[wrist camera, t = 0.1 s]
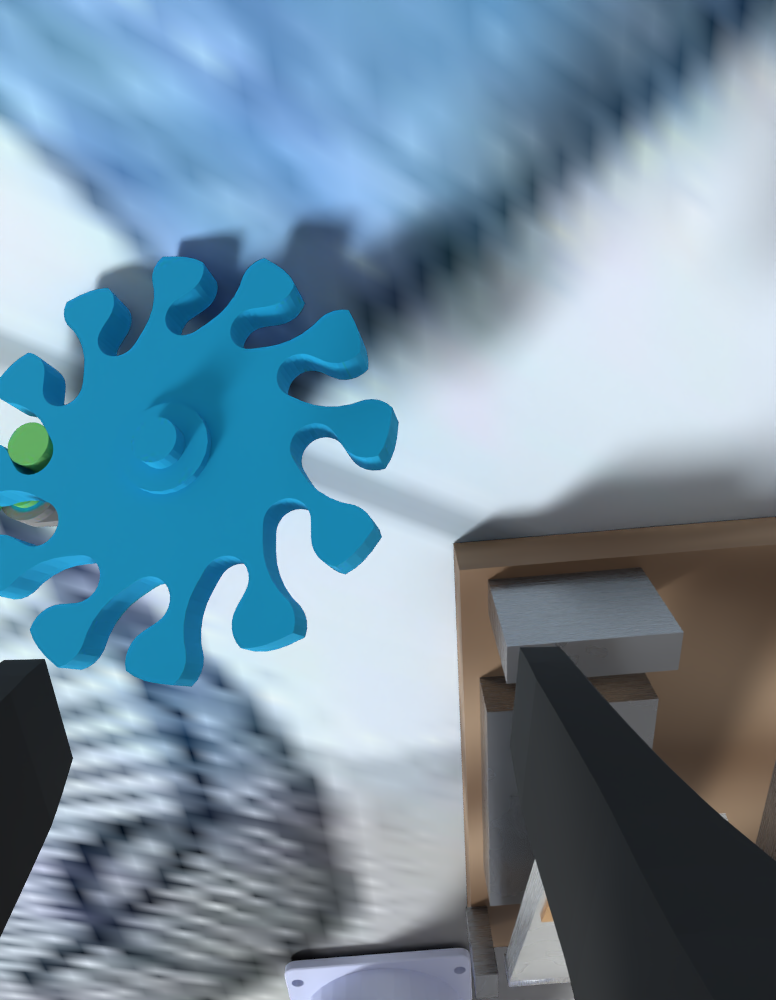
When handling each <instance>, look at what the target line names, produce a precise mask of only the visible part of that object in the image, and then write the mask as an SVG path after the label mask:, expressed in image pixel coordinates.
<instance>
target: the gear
mask: <svg viewBox="0 0 776 1000" xmlns="http://www.w3.org/2000/svg"><path fill="white" fill-rule="evenodd" d="M152 282H153V287H154V302H153V307H152V311H151V314H150V317H149V320H148V322H147V324H146V326H145V328H144V330H143V331H142V333H141V335H140V336H139V338H138V339H137V341H136V343H135V344H134V345H133V347H132V348H131V349H130V350H129V351H128V352H126V353H124V354H122V355H119V356H117V352H118V349H119V347H120V345H121V344H122V342H123V340H124V339H125V337H126V336H127V334H128V332H129V330H130V328H131V324H132V317H131V313H130V311H129V309H128V308H127V307H126V306H125V305H124V304H123V303H122V302H121V301H120V300H119V299H118V298H117V297H116V296H115V295H114V294H113V293H112V292H111V291H110V290H109V289H108V288H102V289H97V290H93V291H90V292H87V293H85V294H82V295H80V296H78V297H76V298H74V299H72V300H70V301H68V302H67V303H66V306H65V309H64V317H65V321H66V323H67V325H68V326H69V327H70V328H71V329H72V330H73V331H74V332H75V334H76V335H77V337H78V338H79V340H80V343H81V345H82V348H83V353H84V376H83V385H82V389H81V391H80V393H79V395H78V396H77V397H76V398H75V399H74V400H73V401H72V402H70V403H69V404H66V405H64V399H65V390H66V384H65V380H64V378H63V376H62V375H61V374H60V373H59V372H58V371H57V370H56V369H54V368H53V367H51V366H50V365H49V364H47V363H46V362H45V361H43V360H42V359H41V358H39V357H38V356H36V355H34V354H31V353H27V354H26V355H24V356H22V357H21V358H19V359H18V360H17V361H16V362H14V363H13V364H12V365H11V366H10V367H9V368H8V369H7V370H6V371H5V372H4V374H3V375H2V376H1V377H0V398H1V399H2V400H4V401H5V402H7V403H9V404H10V405H12V406H14V407H15V408H17V409H19V410H20V411H22V412H24V413H25V414H27V415H29V416H34V417H38V418H39V419H40V420H41V422H42V423H43V425H44V426H42V425H41V424H39V423H27V424H24V425H22V426H20V427H19V428H18V429H17V430H16V431H15V432H14V433H13V434H12V436H11V438H10V440H9V443H8V449H7V448H5V447H3V446H1V445H0V510H1V508H2V510H3V511H4V513H5V514H6V515H7V516H9V517H10V518H13V519H15V520H18V521H20V522H23V523H26V524H28V525H31V526H34V527H51V526H57V529H56V531H55V533H54V534H53V536H52V537H51V538H50V539H49V540H48V541H47V542H45V543H44V544H42V545H39V546H36V545H33V544H31V543H28V542H25V541H22V540H19V539H16V538H13V537H10V536H8V535H0V596H1V597H6V598H11V599H22V598H25V597H27V596H29V595H31V594H32V593H34V592H35V591H36V590H37V589H38V588H39V587H40V586H41V585H42V584H43V583H44V582H45V581H47V580H48V579H49V578H51V577H52V576H53V575H55V574H57V573H59V572H61V571H63V570H65V569H68V568H71V567H74V566H78V565H84V564H93V563H97V564H98V567H99V570H100V581H99V584H98V587H97V588H96V590H95V592H94V593H93V594H92V595H91V596H90V597H89V598H88V599H86V600H84V601H82V602H79V603H71V604H59V605H53V606H51V607H49V608H47V609H45V610H44V611H43V612H41V613H40V614H39V615H38V616H37V618H36V619H35V621H34V622H33V624H32V626H31V628H30V631H31V634H32V637H33V640H34V641H35V643H36V645H37V646H38V648H39V649H40V650H41V651H42V653H43V654H44V655H45V656H46V657H47V658H48V659H49V660H50V661H51V662H52V663H54V664H55V665H56V666H57V667H59V668H69V669H80V670H82V669H84V668H87V667H89V666H91V665H92V664H94V663H95V662H96V661H97V660H98V659H99V658H100V656H101V655H102V653H103V651H104V649H105V646H106V643H107V640H108V638H109V635H110V633H111V632H112V630H113V628H114V626H115V624H116V623H117V621H118V620H119V618H120V617H121V616H122V614H123V613H124V612H125V611H126V610H127V609H128V608H129V607H130V606H131V605H132V604H133V603H134V602H135V601H137V600H138V599H139V598H141V597H142V596H143V595H145V594H146V593H148V592H149V591H151V590H152V589H154V588H155V587H157V586H159V585H161V584H166V585H167V587H168V589H169V592H170V604H169V608H168V610H167V612H166V614H165V615H164V616H163V617H162V619H160V620H159V621H158V622H157V623H155V624H154V625H152V626H151V627H149V628H148V629H146V630H145V631H143V632H142V633H140V634H139V635H138V636H137V637H136V638H135V639H134V640H133V642H132V643H131V645H130V647H129V649H128V652H127V655H126V661H125V666H126V671H127V672H129V673H130V674H132V675H133V676H135V677H137V678H139V679H142V680H144V681H149V682H153V683H159V684H168V685H178V686H191V687H192V686H193V684H194V683H195V682H196V681H197V680H198V678H199V676H200V674H201V671H202V668H203V660H204V656H203V650H202V645H201V627H202V619H203V615H204V611H205V608H206V605H207V602H208V600H209V598H210V596H211V594H212V592H213V590H214V588H215V586H216V584H217V583H218V581H219V579H220V577H221V576H222V574H223V573H224V572H225V571H226V570H227V569H228V568H230V567H231V566H233V565H236V564H245V566H246V567H247V570H248V573H249V582H248V587H247V589H246V591H245V593H244V595H243V597H242V599H241V600H240V602H239V604H238V606H237V608H236V610H235V612H234V615H233V619H232V631H233V636H234V638H235V640H236V643H237V644H238V645H239V646H240V648H243V649H247V650H252V651H271V650H275V649H279V648H282V647H284V646H287V645H290V644H292V643H294V642H296V641H298V640H300V639H302V638H304V637H305V635H306V631H307V620H306V616H305V613H304V611H303V610H302V608H301V606H300V605H299V604H298V603H297V602H296V601H295V600H294V599H293V598H292V597H291V595H290V594H289V592H288V591H287V589H286V588H285V586H284V584H283V581H282V579H281V577H280V574H279V570H278V566H277V559H276V530H277V526H278V523H279V522H280V520H281V519H282V517H283V516H284V515H285V514H287V513H289V512H290V511H293V510H296V509H306V510H309V512H310V515H311V540H312V546H313V549H314V551H315V553H316V554H317V556H318V557H319V558H320V559H321V560H322V561H323V562H325V563H326V564H327V565H329V566H330V567H331V568H333V569H334V570H336V571H337V572H339V573H343V574H347V573H348V572H350V571H352V570H353V569H355V568H356V567H357V566H358V565H359V564H361V563H362V562H363V561H364V560H365V559H366V557H367V556H368V555H369V554H370V553H371V552H372V550H373V549H374V547H375V546H376V545H377V543H378V542H379V540H380V539H381V538H382V536H381V533H380V530H379V529H378V527H377V526H376V524H375V523H374V521H373V520H372V519H371V518H370V516H369V515H368V514H367V513H366V512H365V511H364V510H363V509H361V508H359V507H357V506H355V505H351V504H347V503H342V502H339V501H336V500H334V499H331V498H329V497H327V496H326V495H324V494H322V493H321V492H319V491H318V490H317V489H316V488H315V487H314V486H313V485H312V483H311V481H310V480H309V478H308V477H307V475H306V473H305V472H304V470H303V468H302V462H301V461H302V455H303V452H304V450H305V448H306V447H307V446H308V445H309V444H310V443H311V442H312V441H314V440H316V439H318V438H323V437H329V438H333V439H336V440H337V441H339V442H340V443H341V444H342V445H343V447H344V448H345V450H346V451H347V453H348V454H349V456H350V457H351V459H352V460H353V461H354V462H355V463H356V464H357V465H359V466H360V467H362V468H364V469H367V470H381V469H385V468H386V467H387V465H388V463H389V462H390V460H391V458H392V455H393V452H394V450H395V445H396V440H397V433H398V423H399V422H398V420H397V418H396V415H395V413H394V411H393V408H392V407H391V406H390V405H388V404H387V403H385V402H383V401H380V400H374V399H369V400H363V401H360V402H357V403H354V404H350V405H344V406H338V407H325V406H318V405H312V404H309V403H306V402H303V401H301V400H298V399H296V398H294V397H291V396H289V395H288V392H289V387H290V385H291V383H292V381H293V380H294V379H295V378H296V377H297V376H298V375H300V374H301V373H304V372H306V371H318V372H321V373H324V374H326V375H329V376H331V377H334V378H337V379H342V380H347V379H353V378H356V377H358V376H360V375H362V374H363V373H364V372H366V371H367V370H368V356H367V351H366V348H365V345H364V343H363V340H362V338H361V335H360V333H359V331H358V329H357V326H356V324H355V322H354V320H353V318H352V316H351V314H350V312H349V310H335V311H332V312H329V313H327V314H326V315H324V316H323V317H321V318H320V319H319V320H318V321H317V322H316V323H315V324H314V325H313V326H312V327H311V328H309V329H308V330H307V331H305V332H304V333H302V334H301V335H299V336H297V337H295V338H293V339H292V340H289V341H287V342H284V343H281V344H278V345H273V346H268V347H261V348H254V349H244V344H245V341H246V339H247V337H248V336H249V335H250V334H251V333H252V332H254V331H255V330H257V329H259V328H262V327H268V326H275V325H281V324H285V323H287V322H290V321H291V320H293V319H294V318H296V317H297V316H298V315H299V314H300V312H301V311H302V309H303V307H304V304H305V302H304V301H303V299H302V297H301V295H300V293H299V291H298V289H297V288H296V286H295V284H294V282H293V281H292V279H291V277H290V276H289V275H288V274H287V273H286V272H285V271H284V270H283V269H281V268H280V267H279V266H277V265H276V264H274V263H272V262H270V261H269V260H267V259H265V258H263V259H261V260H258V261H256V262H255V263H253V264H252V265H251V266H250V267H249V268H248V269H247V270H246V272H245V274H244V275H243V278H242V281H241V284H240V286H239V288H238V290H237V292H236V294H235V296H234V297H233V299H232V300H231V301H230V303H229V304H228V305H227V307H226V308H225V309H224V310H223V311H222V312H221V313H220V314H219V315H218V316H216V317H215V318H214V319H212V320H211V321H210V322H208V323H207V324H205V325H204V326H202V327H201V328H199V329H198V330H196V331H195V332H193V333H191V334H187V335H181V334H182V330H183V328H184V326H185V325H186V323H187V322H188V321H189V320H191V319H192V318H193V317H195V316H196V315H198V314H199V313H201V312H202V311H204V310H205V309H207V308H208V307H209V306H210V305H211V304H212V302H213V301H214V299H215V297H216V294H217V290H218V285H217V281H216V280H215V279H214V277H213V276H212V274H211V273H210V272H209V270H208V269H207V267H206V266H205V265H204V263H203V262H201V261H199V260H196V259H193V258H188V257H177V256H176V257H162V258H161V259H160V260H159V261H158V263H157V264H156V266H155V268H154V271H153V274H152Z"/></svg>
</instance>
